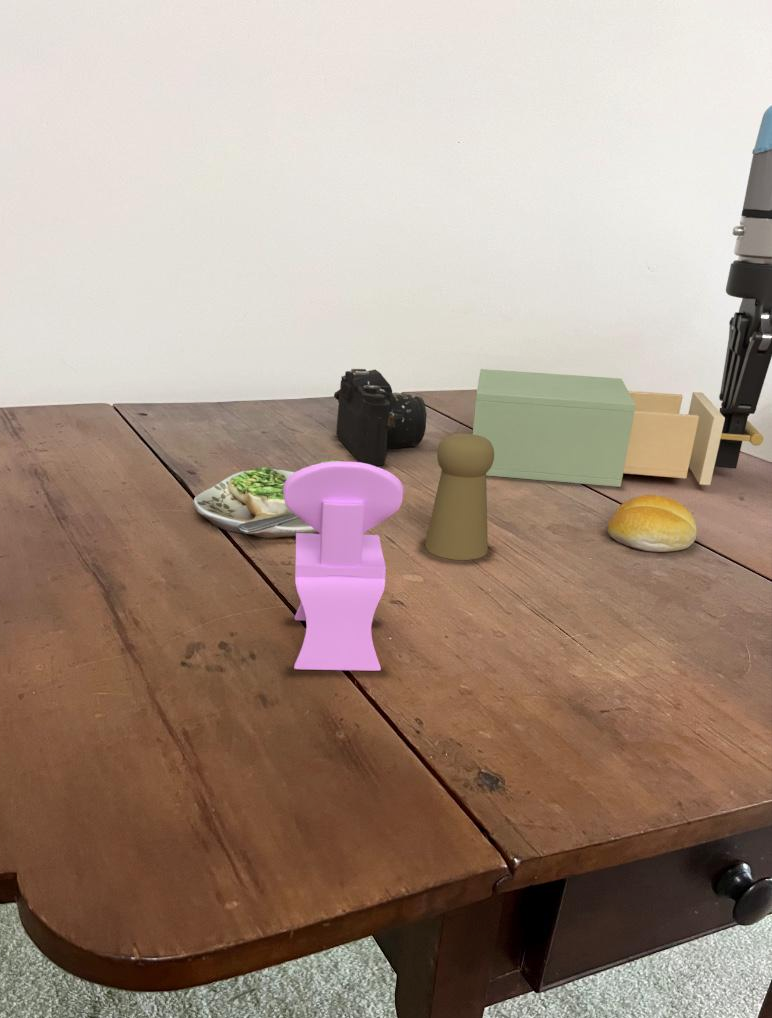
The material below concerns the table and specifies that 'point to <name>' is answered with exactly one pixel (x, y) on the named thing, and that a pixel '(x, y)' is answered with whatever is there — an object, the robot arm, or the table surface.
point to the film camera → (376, 416)
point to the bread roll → (653, 524)
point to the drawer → (677, 436)
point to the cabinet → (555, 426)
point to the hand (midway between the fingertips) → (723, 465)
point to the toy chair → (340, 560)
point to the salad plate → (252, 504)
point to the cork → (461, 498)
